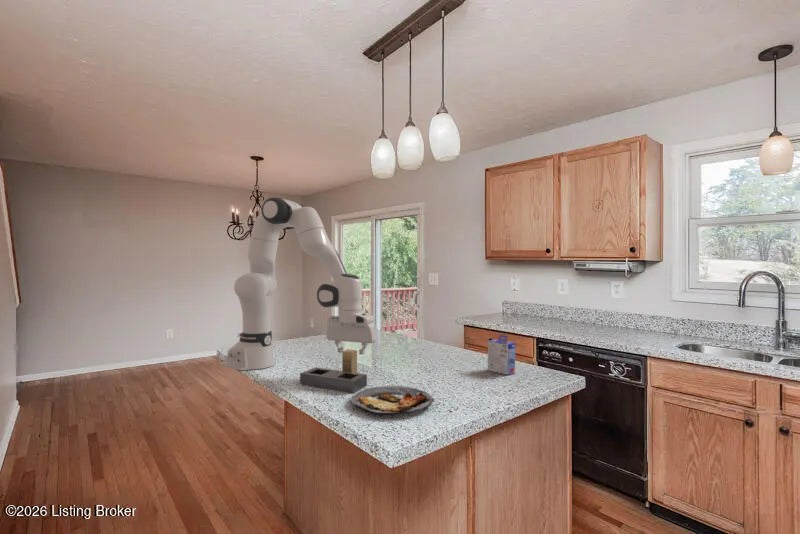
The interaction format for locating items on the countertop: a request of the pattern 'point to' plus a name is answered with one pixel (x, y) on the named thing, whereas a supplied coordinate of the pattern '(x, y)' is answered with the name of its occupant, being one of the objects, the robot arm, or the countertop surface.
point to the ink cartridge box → (501, 356)
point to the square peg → (349, 361)
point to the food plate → (392, 399)
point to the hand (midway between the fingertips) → (351, 353)
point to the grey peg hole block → (334, 379)
